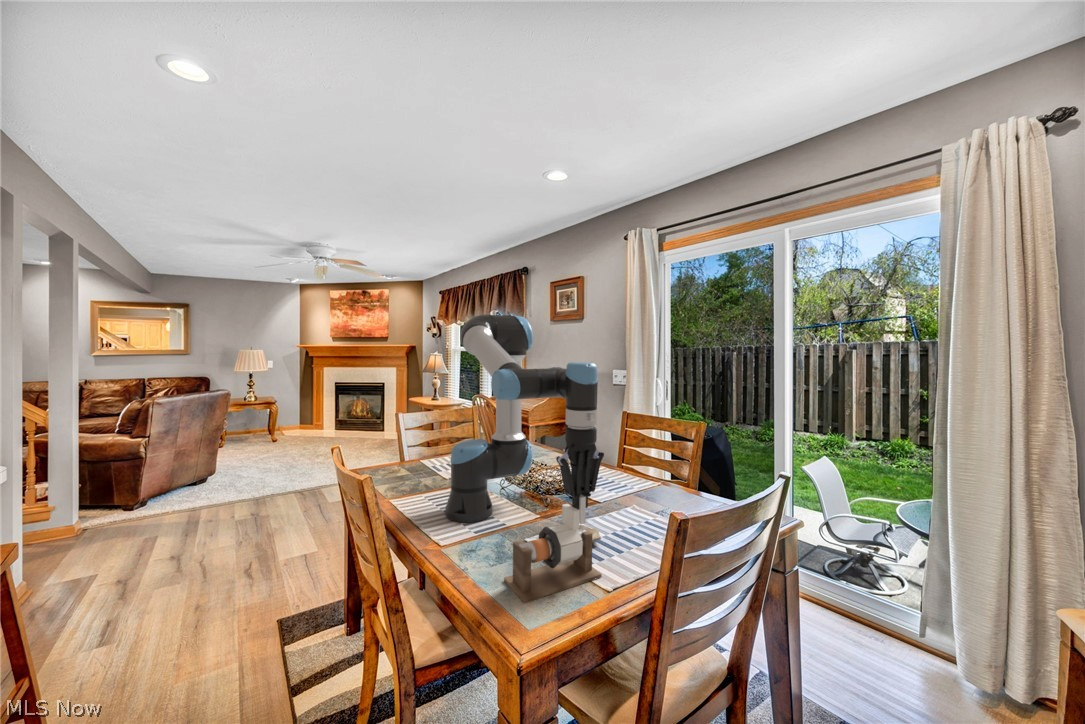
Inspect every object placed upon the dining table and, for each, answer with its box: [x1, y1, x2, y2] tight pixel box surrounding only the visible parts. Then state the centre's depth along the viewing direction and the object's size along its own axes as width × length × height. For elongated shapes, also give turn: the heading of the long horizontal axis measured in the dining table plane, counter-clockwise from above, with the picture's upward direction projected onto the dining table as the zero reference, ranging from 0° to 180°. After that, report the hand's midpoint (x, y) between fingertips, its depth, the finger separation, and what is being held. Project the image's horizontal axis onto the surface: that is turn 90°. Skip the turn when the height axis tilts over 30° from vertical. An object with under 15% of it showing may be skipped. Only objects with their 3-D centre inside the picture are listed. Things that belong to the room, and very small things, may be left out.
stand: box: [503, 526, 602, 604], centre depth 104 cm, size 21×10×10 cm, turn 121°
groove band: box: [528, 538, 550, 564], centre depth 102 cm, size 4×5×5 cm
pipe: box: [519, 528, 586, 564], centre depth 104 cm, size 18×4×4 cm, turn 121°
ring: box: [538, 526, 561, 568], centre depth 103 cm, size 1×9×9 cm, turn 30°
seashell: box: [579, 524, 602, 543], centre depth 124 cm, size 12×12×3 cm
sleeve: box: [544, 503, 583, 565], centre depth 105 cm, size 6×8×12 cm
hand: (579, 521), depth 108 cm, fingers closed
